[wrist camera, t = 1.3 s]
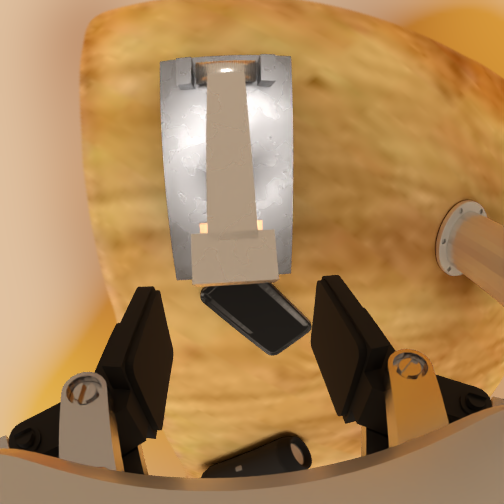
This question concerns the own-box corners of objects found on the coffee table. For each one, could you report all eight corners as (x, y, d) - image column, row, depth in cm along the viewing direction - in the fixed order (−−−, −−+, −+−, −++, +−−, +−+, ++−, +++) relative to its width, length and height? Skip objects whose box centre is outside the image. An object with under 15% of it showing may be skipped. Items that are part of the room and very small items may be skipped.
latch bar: (197, 74, 22) (195, 58, 20) (253, 71, 22) (255, 56, 20) (196, 286, 18) (191, 283, 16) (275, 282, 18) (280, 278, 16)
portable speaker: (283, 426, 50) (291, 467, 41) (308, 439, 54) (318, 474, 44) (198, 462, 55) (198, 496, 46) (226, 472, 58) (228, 503, 49)
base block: (169, 72, 26) (152, 53, 18) (280, 67, 26) (298, 47, 19) (182, 260, 34) (172, 294, 27) (282, 254, 35) (297, 287, 28)
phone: (242, 257, 34) (314, 327, 39) (241, 253, 35) (312, 323, 40) (196, 297, 35) (271, 358, 41) (196, 292, 36) (270, 353, 42)
